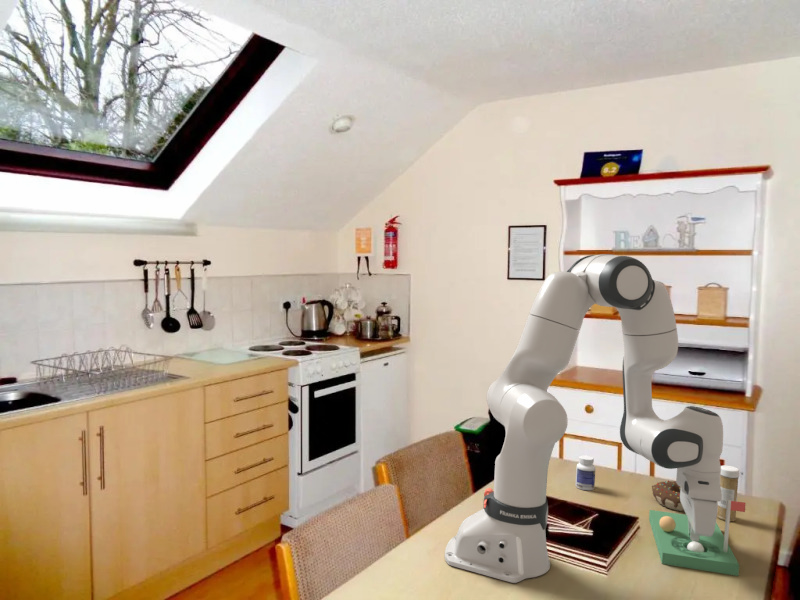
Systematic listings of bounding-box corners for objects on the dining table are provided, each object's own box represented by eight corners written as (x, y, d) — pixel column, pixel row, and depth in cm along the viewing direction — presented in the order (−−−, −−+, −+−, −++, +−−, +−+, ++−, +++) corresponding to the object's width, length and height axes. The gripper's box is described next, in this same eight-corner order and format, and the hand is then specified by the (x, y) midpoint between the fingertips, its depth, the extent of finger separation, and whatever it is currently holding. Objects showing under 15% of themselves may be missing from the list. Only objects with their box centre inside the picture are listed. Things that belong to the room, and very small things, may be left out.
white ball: (685, 552, 139) (688, 559, 135) (685, 537, 138) (689, 544, 135) (701, 555, 138) (705, 561, 134) (702, 539, 138) (706, 546, 134)
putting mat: (661, 563, 133) (666, 501, 132) (649, 519, 156) (652, 465, 155) (747, 577, 128) (752, 512, 127) (721, 529, 151) (725, 474, 150)
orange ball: (660, 533, 142) (661, 518, 142) (658, 526, 146) (659, 512, 145) (676, 535, 141) (677, 520, 141) (673, 529, 145) (674, 514, 144)
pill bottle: (596, 491, 174) (598, 460, 173) (578, 490, 174) (580, 460, 173) (591, 484, 179) (592, 454, 178) (573, 483, 179) (574, 454, 178)
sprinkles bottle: (739, 519, 158) (743, 469, 157) (729, 523, 155) (733, 471, 154) (721, 513, 161) (725, 463, 160) (712, 516, 159) (716, 466, 158)
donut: (713, 505, 167) (715, 487, 167) (697, 519, 157) (698, 500, 157) (660, 490, 177) (661, 473, 177) (642, 503, 167) (643, 485, 167)
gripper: (675, 462, 148) (671, 517, 149) (690, 493, 128) (686, 556, 129) (703, 465, 146) (699, 521, 147) (723, 497, 127) (719, 561, 128)
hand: (693, 538), depth 138 cm, fingers closed
